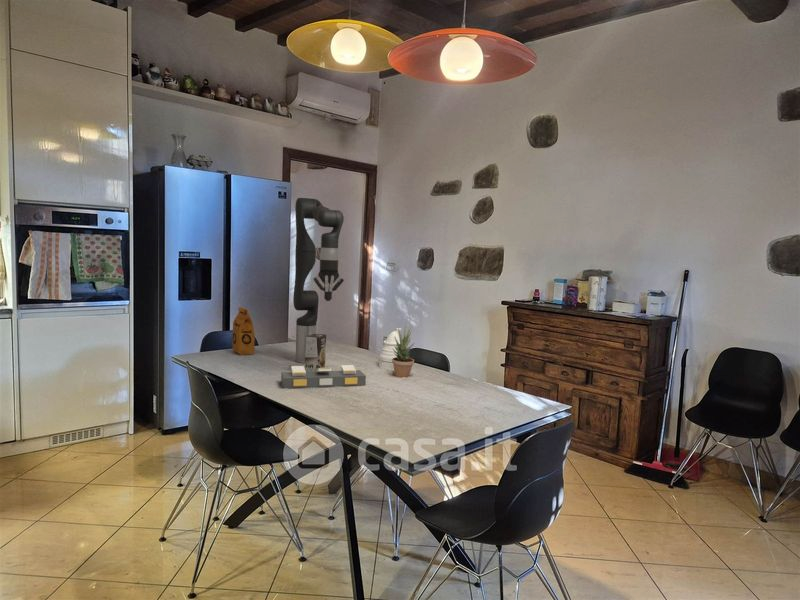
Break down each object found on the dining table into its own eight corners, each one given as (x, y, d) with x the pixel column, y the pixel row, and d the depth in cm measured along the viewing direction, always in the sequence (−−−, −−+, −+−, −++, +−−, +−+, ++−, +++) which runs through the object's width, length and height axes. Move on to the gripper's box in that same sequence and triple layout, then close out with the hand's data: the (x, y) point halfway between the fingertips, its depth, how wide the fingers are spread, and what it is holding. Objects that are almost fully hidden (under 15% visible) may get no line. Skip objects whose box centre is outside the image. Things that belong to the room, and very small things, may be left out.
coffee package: (236, 356, 268) (236, 310, 266) (230, 351, 279) (231, 306, 276) (256, 354, 273) (257, 309, 270) (250, 349, 283) (251, 306, 281)
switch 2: (316, 372, 225) (316, 368, 225) (328, 371, 227) (328, 368, 227) (318, 371, 219) (318, 367, 219) (331, 370, 221) (331, 367, 221)
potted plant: (415, 378, 240) (418, 321, 237) (394, 378, 237) (396, 320, 235) (409, 372, 249) (412, 317, 247) (388, 373, 247) (391, 317, 244)
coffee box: (318, 375, 238) (319, 337, 236) (304, 373, 239) (305, 336, 237) (325, 370, 246) (326, 334, 245) (311, 369, 248) (312, 333, 246)
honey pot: (402, 363, 268) (404, 326, 266) (410, 369, 255) (412, 330, 254) (376, 364, 264) (377, 326, 262) (382, 370, 252) (384, 330, 250)
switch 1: (290, 368, 222) (291, 365, 222) (303, 368, 224) (303, 365, 223) (292, 376, 217) (293, 373, 216) (305, 375, 218) (306, 372, 218)
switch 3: (340, 368, 228) (340, 364, 228) (352, 367, 230) (353, 364, 230) (343, 374, 223) (344, 371, 222) (356, 373, 224) (356, 370, 224)
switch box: (281, 382, 224) (281, 372, 223) (359, 379, 233) (359, 370, 233) (284, 389, 214) (284, 378, 213) (365, 386, 223) (366, 376, 223)
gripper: (343, 259, 237) (341, 300, 238) (311, 257, 232) (310, 299, 234) (347, 259, 229) (345, 302, 231) (314, 258, 225) (313, 301, 227)
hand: (327, 300), depth 233 cm, fingers closed
